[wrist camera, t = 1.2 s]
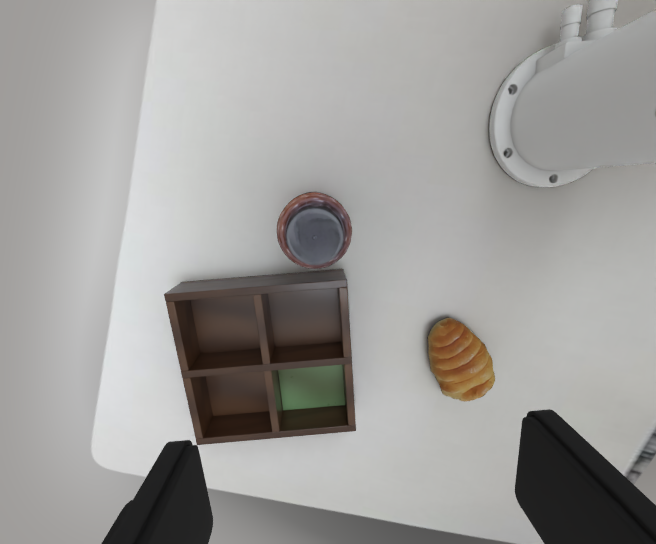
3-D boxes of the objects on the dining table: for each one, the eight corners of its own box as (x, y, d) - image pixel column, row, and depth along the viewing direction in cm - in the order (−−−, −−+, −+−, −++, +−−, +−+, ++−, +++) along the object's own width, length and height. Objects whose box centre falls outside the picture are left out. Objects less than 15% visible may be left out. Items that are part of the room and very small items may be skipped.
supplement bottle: (300, 258, 33) (293, 292, 23) (275, 206, 32) (254, 216, 21) (351, 235, 33) (369, 258, 22) (328, 181, 32) (335, 178, 21)
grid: (181, 281, 34) (163, 294, 30) (343, 268, 34) (346, 279, 30) (209, 418, 38) (196, 445, 34) (351, 406, 38) (355, 431, 34)
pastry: (409, 331, 36) (420, 347, 32) (463, 304, 36) (480, 317, 32) (441, 393, 38) (455, 414, 35) (492, 368, 38) (511, 387, 34)
